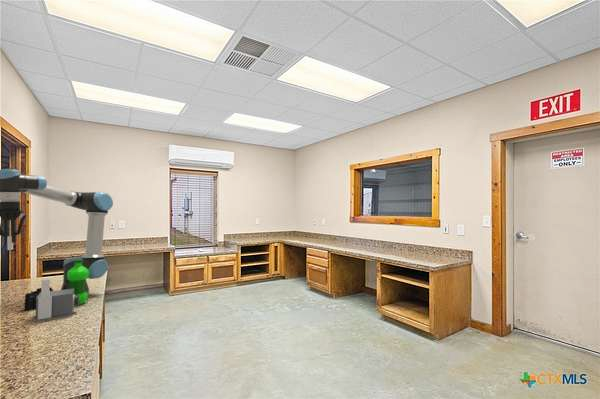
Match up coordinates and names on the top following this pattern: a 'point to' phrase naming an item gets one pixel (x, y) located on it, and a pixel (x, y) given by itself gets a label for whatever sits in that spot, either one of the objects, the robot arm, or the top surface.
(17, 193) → the robot arm
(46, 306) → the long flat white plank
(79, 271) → the plastic bottle
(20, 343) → the top surface
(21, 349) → the top surface
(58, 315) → the housing
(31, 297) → the camera
